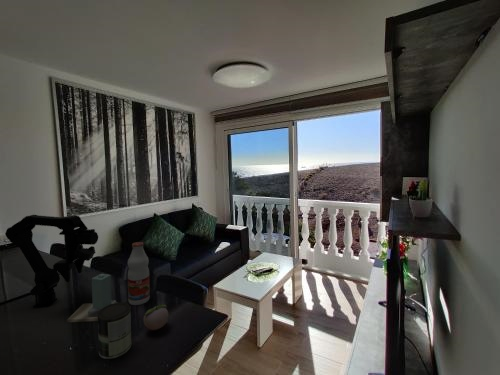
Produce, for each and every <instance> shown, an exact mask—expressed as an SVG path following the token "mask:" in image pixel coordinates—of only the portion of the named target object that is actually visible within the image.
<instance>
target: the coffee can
mask: <svg viewBox="0 0 500 375" xmlns="http://www.w3.org/2000/svg"><path fill="white" fill-rule="evenodd" d="M131 307H132V305H131V304H130V303H129V302H118V303H114V304H110V305H108V306H105V307H104V308H102V309H101V310H100V311H99V312H98V314H97V318H98V321H97V330H98V331H97V332H98V333H97V334H98V355H99V357H100V358H101V359H105V360H111V359H117V358H119V357H121V356H123V355H125V354H126V353H127V352H129V350H130V349H131V347H132V327H131V326H132V325H131V323H132V318H131V310H132V308H131Z"/></svg>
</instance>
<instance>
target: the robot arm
mask: <svg viewBox="0 0 500 375" xmlns="http://www.w3.org/2000/svg"><path fill="white" fill-rule="evenodd" d="M36 226H40V227H41V226H42V227H54V228H57V229H59V230H61V231H60V232H58V235H60V236H63V237H64V246H63V247H62V251H64V256H63V257H62V259H61V260H60V259H59V261H57V262H54V264H53V265H52V267H51V268H50V267H49V266H48V265H47V263H46V261H45V260H44V258H43V256H42V255H41V252H40V251H39V250H38V248H37V246H36V244H35V243H34V241H33V235H34V234H33V231H32V230H34V229H35V228H36ZM4 234H5V237H6V238H7V239H8V241H9V242H10V243H11V244H13V245H15V246H17V247H18V248H19V249H20V252H22V254H23V256H24V257H25V260H26V261H27V262H28V264H29V266H30V267H31V269H32V271H33V272H34V279H33V280H34V281H33V282H34V284H35V285H34V286H33V287H32V288H31V289H30V293H31V295H32V296H35V299H34V300H35V304H34V305H33V306H32V307H33V308H43V307H45V308H47V307H50V306H51V305H52V304H53V303H54V302H56V301H57V300H58V298H57V297H56V291H55V288H57V287H58V284H59V282H60V279H61V277H62V278H63V280H64V281H65V282H66V283H69V282H70V280H71V271H72V269H74V265H75V268H76V271H77V273H78V274H81V273H82V270H83V268H84V264H85V261H87V262H89V261H90V260H91V259H93V257H94V255H95V254H96V248H95V246H94V245H95V244H97V243H98V240H99V235H98V233H97V232H96V229H95V228H92V229H88V227H87V225H86V224H85V223H84V221H83V220H82V219H81V216H79V215H69V216H68V215H66V216H49V215H40V214H39V215H37V214H31V215H26V216H24V217H22V219H21V220H19V221H18V222H16V223H14V224H13V225H12V226H10V227H8V228H7V229H6V231H5V232H4ZM84 245H91V246H89V247H86V248H85V247H84ZM60 275H61V277H60Z"/></svg>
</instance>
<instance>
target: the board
mask: <svg viewBox="0 0 500 375" xmlns="http://www.w3.org/2000/svg"><path fill="white" fill-rule="evenodd" d="M114 303H119V302H117V300H115V299H114V300H112V304H114ZM100 310H101V309H95V308H93V302H92V303H90V302H89V303H82V304H81V305H80V306H79V307H78V308H77V309H76V310H75V312H74V313H73V314H71V315H70V316H69V317H68V318H67V320H66V322H67V323H85V322H98V318H97V314H98V312H99V311H100Z"/></svg>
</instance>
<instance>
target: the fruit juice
mask: <svg viewBox="0 0 500 375" xmlns="http://www.w3.org/2000/svg"><path fill="white" fill-rule="evenodd" d="M144 245H145V244H144V242H143V241H136V242H132V244H131V247H132V250H131V252H130V255H129V258H128V259H127V267H128V270H127V297H128V298H127V299H128V300H127V301H128V304H129V305H130V306H139V305H140V306H141V305H144V304H145V303H148V302H149V300H150V297H151V296H150V295H151V294H150V293H151V292H150V288H151V287H150V268H149V267H148V266H149V262H150V261H149V257H148V255H147V253H146V251H145V249H144Z"/></svg>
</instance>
